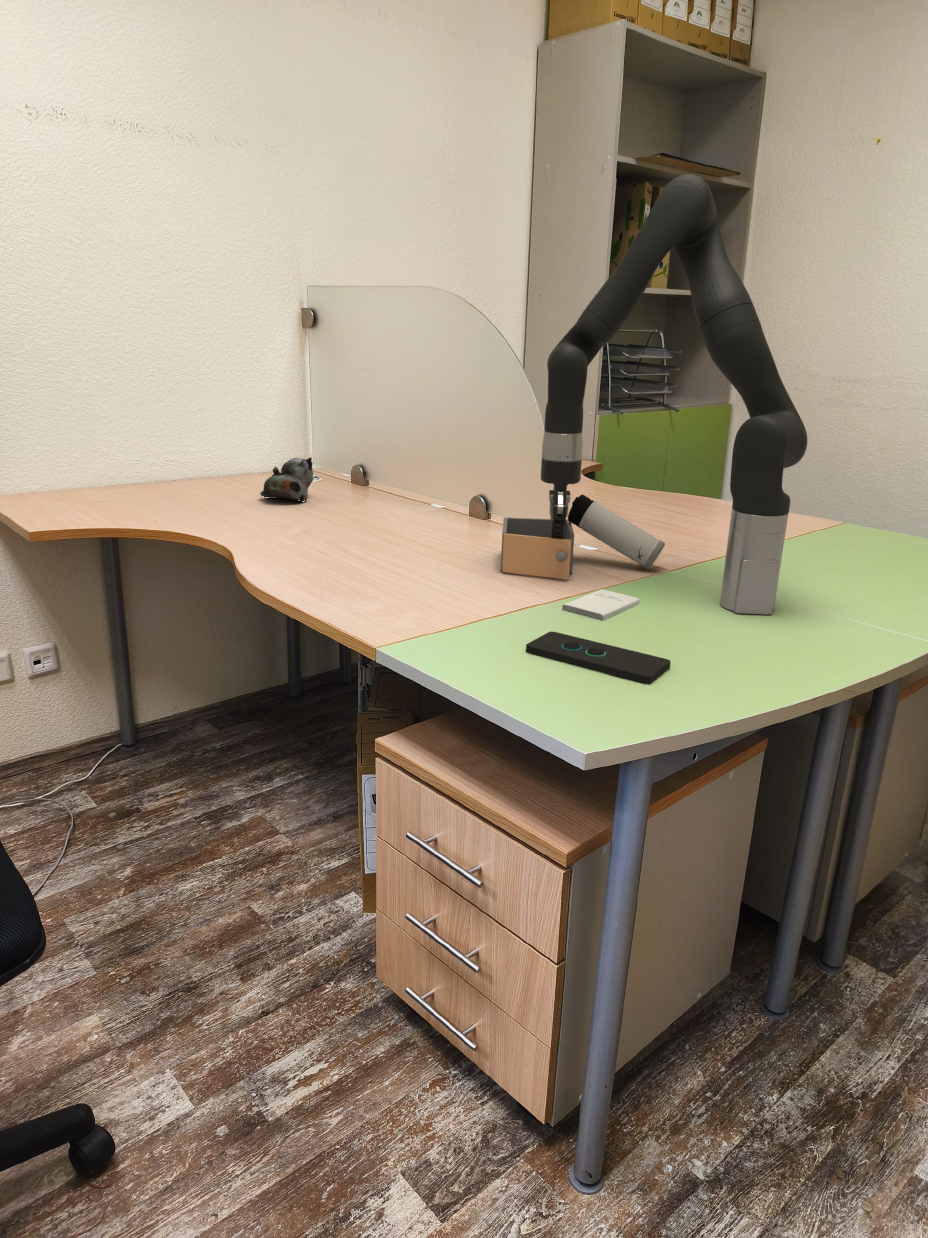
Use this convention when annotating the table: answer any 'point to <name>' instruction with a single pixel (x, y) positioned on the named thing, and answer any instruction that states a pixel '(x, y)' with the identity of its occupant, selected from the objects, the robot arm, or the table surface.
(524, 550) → the side door
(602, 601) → the external hard drive
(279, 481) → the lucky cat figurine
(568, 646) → the smart home device
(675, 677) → the table surface
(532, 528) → the storage box
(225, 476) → the table surface
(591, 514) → the travel mug
